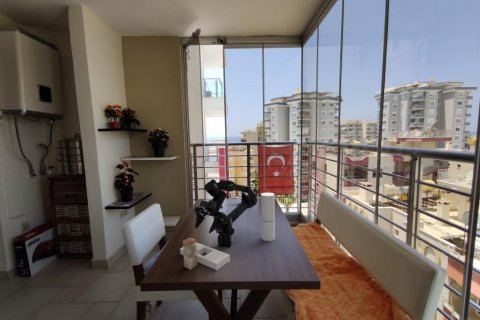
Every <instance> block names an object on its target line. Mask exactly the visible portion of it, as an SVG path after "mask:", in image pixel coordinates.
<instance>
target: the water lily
mask: <svg viewBox="0 0 480 320" xmlns="http://www.w3.org/2000/svg"><path fill="white" fill-rule="evenodd" d="M238 193H239V195H237V196H235V197H236V199H238V201H240V202H241V199H242V198H241V194H242V192H241V191H238ZM245 195H248V193H245Z"/></svg>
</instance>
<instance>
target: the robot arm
mask: <svg viewBox="0 0 480 320" xmlns="http://www.w3.org/2000/svg"><path fill="white" fill-rule="evenodd" d="M203 189H204V191H205V192H206V193H207V194H208V195H209V196H210V197H212V198H211V199H209V200H203V199H201V200H200V202H199V205H198V206H195V207H194V209H193V211H194V213H195V215H196V219H195V220H196V221H195V224H194V229H198V228H199V227H200V226H201V224H202V223H203V221H204V220H205V217H207V216H209V217H212V218H213V222H212V224H211V226H210V228H209V231H208V234H212V233H213V232H214V231H215V232H216V234H218V236H217V244H218V246H217V248H231V246H232V245H233V242H234V241H233V239H232V236H233V235H234V234H235V229H234V227H233V224H234V223H235V222H236V221H237V220H238V219H239V218H240V217H241V215H242V214H244V213H245V211H247V210H248V209H251V208H254V207H255V206H256V205H257V203H258V198H257V195H256V193H255V192H254V191H253V190H252V187H251V186H249V185H243V184H237V183H236V182H235V181H232V180H229V179H224V178H223V179H219V181H218V182H217V180H216V179H213V178H212V179H210V180H209V181H208V182H207V183H205V184H204V187H203ZM234 191H236V192H241V193H242V194H241V196H240V197H241V198H242V199H241V201H240V203H239V204H238V205H237V206H236V207H235V208H234V209H233V210H231V211H230V212H229V213H228V214H226V213H225V212H223V211H220V210H221V209H224V207H223V204H224V202H225V200H226V199H230V197H229V193H228V192H230V193H231V192H234ZM245 193H248V195H245Z"/></svg>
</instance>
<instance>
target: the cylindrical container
mask: <svg viewBox="0 0 480 320" xmlns="http://www.w3.org/2000/svg"><path fill="white" fill-rule="evenodd" d="M260 194H261V195H260V201H261V203H260V204H261V206H260V207H261V208H260V209H261V210H260V211H261V240H262V241H264V242H272V241H275V238H276V237H275V236H276V235H275V234H276V233H275V232H276V230H275V229H276V228H275V227H276V226H275V224H276V222H275V218H276V217H275V214H276V212H275V210H276V209H275V193H273V192H262V193H260Z"/></svg>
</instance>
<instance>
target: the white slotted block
mask: <svg viewBox="0 0 480 320" xmlns="http://www.w3.org/2000/svg"><path fill="white" fill-rule="evenodd" d="M179 249H180V250H179V253H180V255H181V256H183V257H184V252H183V246H182V247H181V248H179ZM196 250H197V263H199V264H202V265H204V266H205V267H209V268H211V269H212V270H215V271H218V270H220V269H221V268H222V267H224V266H226V264H228V263H230V261H231V255H230V254H229V253H226V252H224V251H221V250H218V249H216V248H212V247H211V246H208V245H205V244H202V243H199V242H197V241H196ZM203 254H205V255H203Z"/></svg>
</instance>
